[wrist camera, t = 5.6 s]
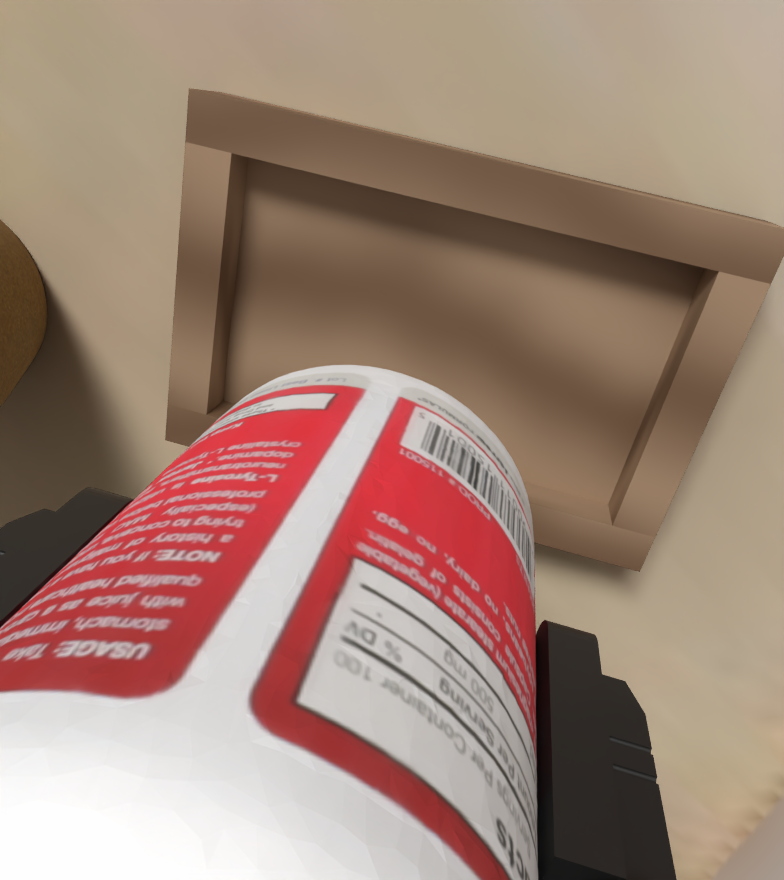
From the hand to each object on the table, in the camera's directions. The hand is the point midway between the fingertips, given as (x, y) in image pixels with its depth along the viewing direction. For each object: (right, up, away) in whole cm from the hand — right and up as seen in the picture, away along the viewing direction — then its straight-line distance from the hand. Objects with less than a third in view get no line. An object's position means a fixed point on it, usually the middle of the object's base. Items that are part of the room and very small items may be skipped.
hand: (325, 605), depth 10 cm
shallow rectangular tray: (+3, +6, +14) cm, 16 cm away
